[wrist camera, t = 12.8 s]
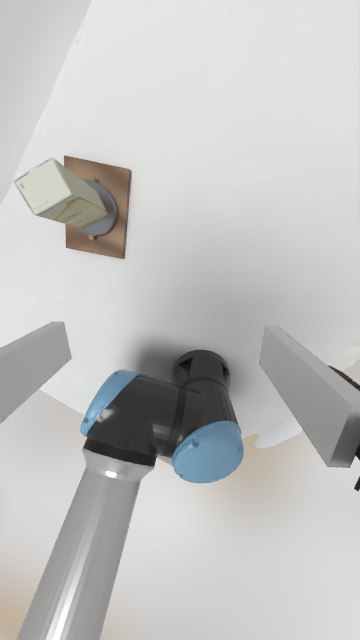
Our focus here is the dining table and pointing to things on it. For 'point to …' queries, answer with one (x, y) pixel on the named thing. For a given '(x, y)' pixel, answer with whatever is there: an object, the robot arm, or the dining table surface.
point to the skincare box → (60, 195)
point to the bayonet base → (121, 197)
